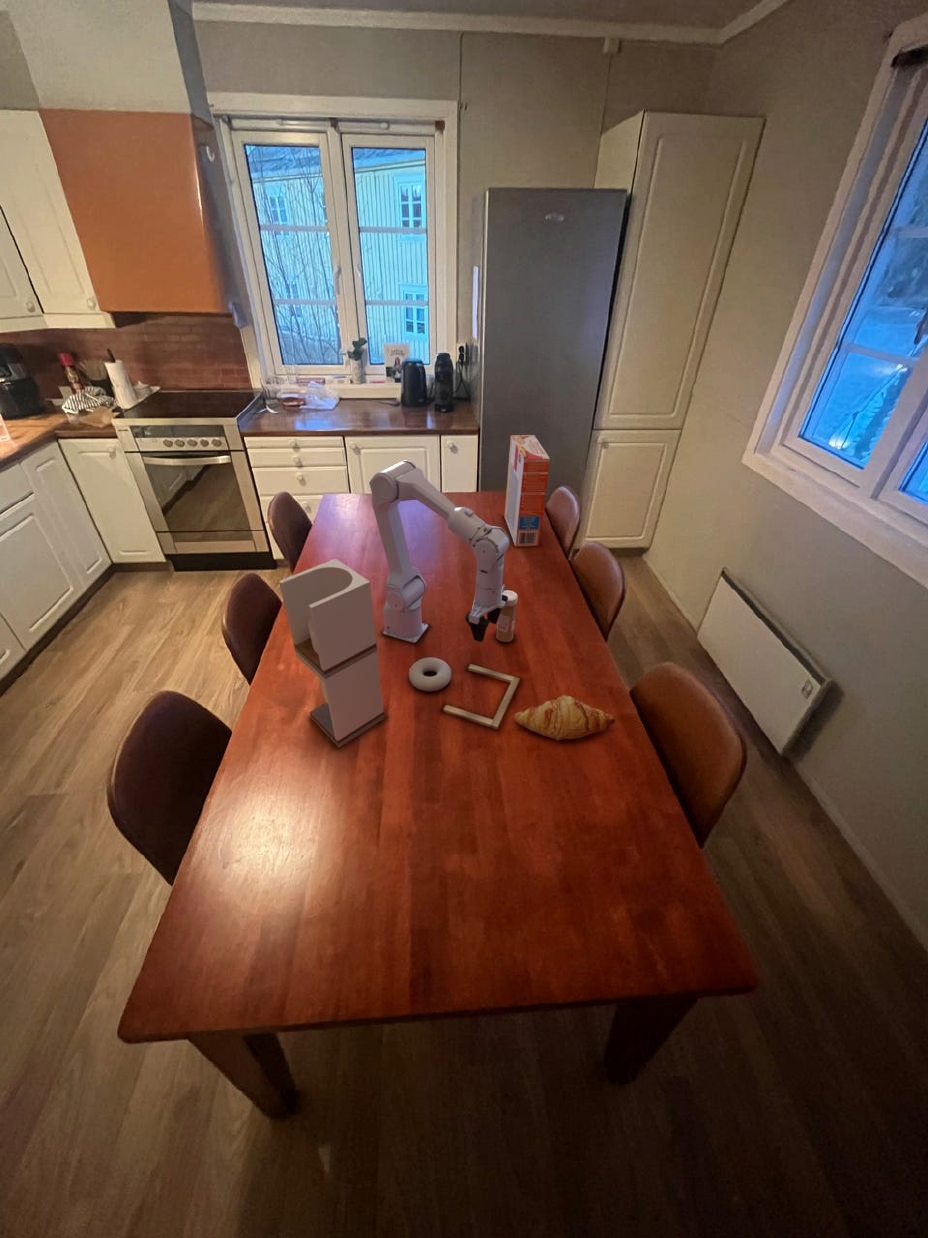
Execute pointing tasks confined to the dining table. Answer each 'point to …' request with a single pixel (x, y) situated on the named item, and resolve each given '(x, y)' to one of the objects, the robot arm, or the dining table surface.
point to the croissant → (564, 719)
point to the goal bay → (504, 703)
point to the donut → (430, 682)
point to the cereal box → (526, 489)
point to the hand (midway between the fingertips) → (485, 631)
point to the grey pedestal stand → (337, 645)
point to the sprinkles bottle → (507, 618)
